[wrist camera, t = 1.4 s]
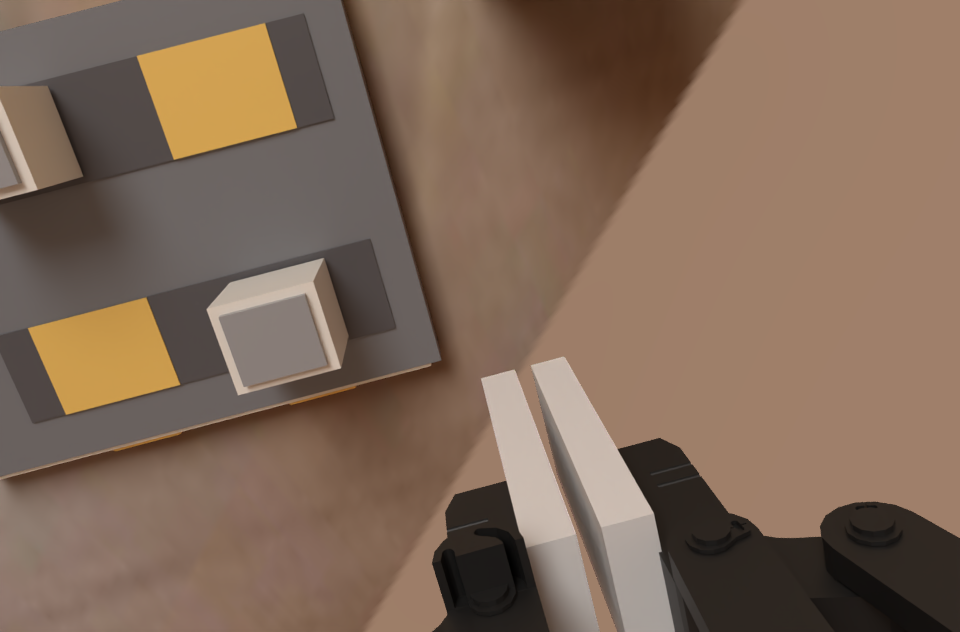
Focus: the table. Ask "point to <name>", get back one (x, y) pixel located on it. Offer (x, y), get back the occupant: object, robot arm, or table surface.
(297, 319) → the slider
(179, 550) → the table surface
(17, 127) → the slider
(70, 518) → the table surface
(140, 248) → the switch board
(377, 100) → the table surface
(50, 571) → the table surface
